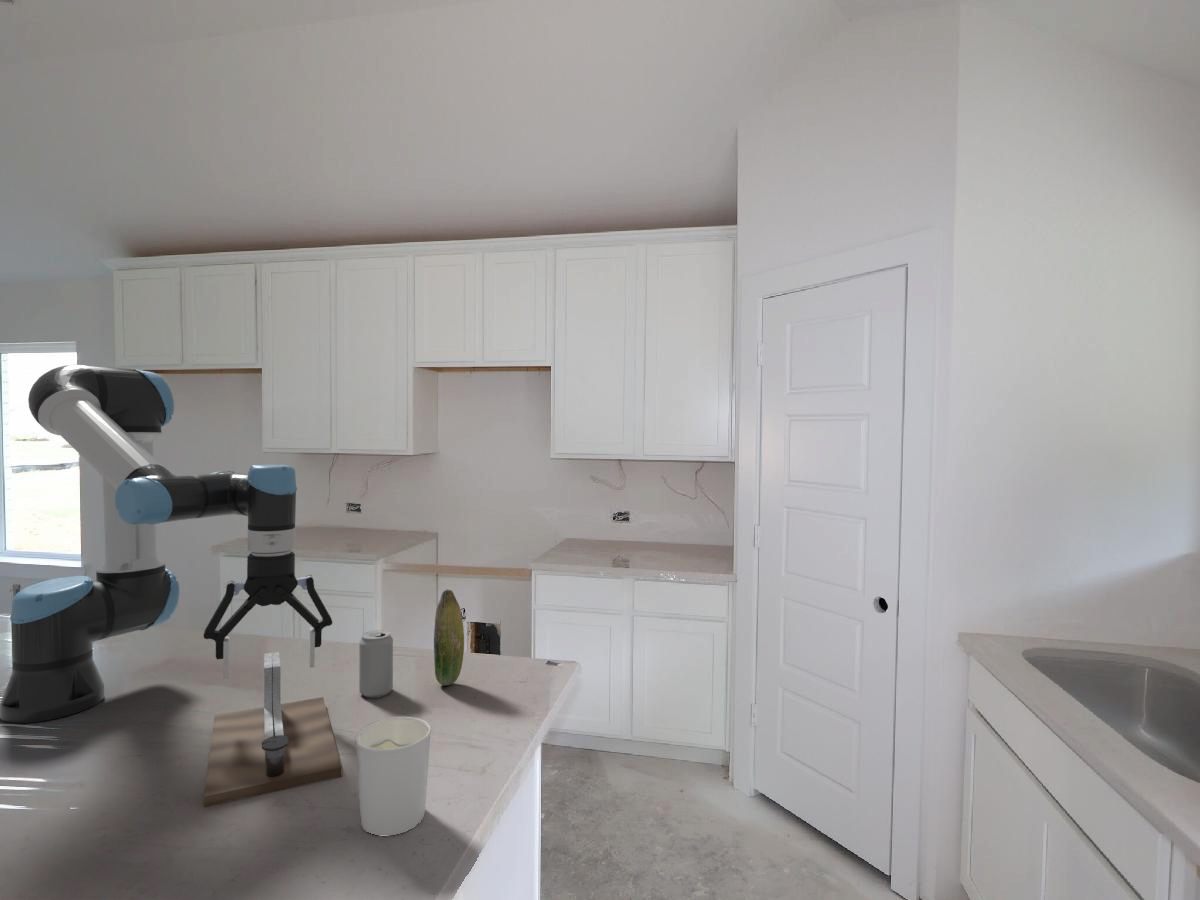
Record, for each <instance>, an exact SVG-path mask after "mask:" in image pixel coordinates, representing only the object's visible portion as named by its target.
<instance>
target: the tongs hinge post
mask: <svg viewBox="0 0 1200 900" xmlns="http://www.w3.org/2000/svg"><path fill="white" fill-rule="evenodd" d="M288 743H289V738H288V737H287V736H284V735H277V736H272V737H269V738H267V739H265V740H263V741H262V749H263V750H266V776H267V777H277V776H280V775H282V774H283V773H284V747H285V746H287V745H288Z"/></svg>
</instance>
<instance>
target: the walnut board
mask: <svg viewBox="0 0 1200 900" xmlns="http://www.w3.org/2000/svg"><path fill="white" fill-rule="evenodd" d="M280 706H281V715H282V724H283V732H284V736H287V737H288V738H289V743H288V745H287V746H285V762H284V773H283V774H282V775H280V776H277V777H267V776H266V766H265V750H263V749H262V741H263V740H265V734H264V706H261V707H256V708H248V709H243V710H237V711H231V712H226V713H220V714H214V716H213V724H212V731H211V739H210V747H209V753H208V760H207V761H208V762H207V763H208V764H207V770H206V772H207V773H206V777H205V779H206V780H205V786H204V787H205V788H204V792H203V793H204V794H203V807H204V808H207V807H211V806H215V805H219V804H220V805H221V804H225V803H229V802H233V801H238V800H242V799H243V800H244V799H248V798H252V797H257V796H261V795H265V794H268V793H269V794H270V793H273V792H279V791H282V790H287V789H292V788H296V787H302V786H305V784H306V785H309V784H315V783H319V782H323V781H328V780H332V779H337V778H341V777H342V763H341V759H340V757H339V755H340V754H339V753H338V749H337V746H336V745H337V744H336V741H335V738H334V733H333V729H332V726H331V722H330V719H329V713H328V711H327V707H326V703H325V699H324V696H321V697H315V698H310V699H304V700H298V701H292V702H291V701H290V702H286V703H280ZM273 736H274V734H273Z"/></svg>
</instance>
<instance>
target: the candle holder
mask: <svg viewBox="0 0 1200 900" xmlns="http://www.w3.org/2000/svg"><path fill="white" fill-rule="evenodd" d="M431 733H432V728H431V726H430V723H428V722H427V721H426V720H424V719H421V718H418V717H412V716H394V717H388V718H383V719H379V720H378V719H377V720H376V721H373V722H371V723H368V724H367V725H365V726H363V727H362V728H361V729H359V731H358V732H357V733H356V735H355V745H356V761H357V762H356V763H357V780H358V795H359V796H358V797H359V799H358V800H359V813H360V823H361V827H362V828H363V830H364V832H366V833H367V832H369V833H371V834H370V835H372V834H375V835H395V836H397V835H396V834H399V833H402V832H405V831H407V830H409V829H411V828H413V827H414V826H416V825H417V824H418V823H419V824H421V822H422V821H423V819H424V816H425V811H426V801H427V790H428V789H427V786H428V773H429V772H428V771H429V757H430V756H429V755H430V743H431ZM421 820H422V821H421ZM419 824H418V825H419ZM418 825H417V826H418ZM417 826H416V827H417ZM413 829H414V828H413ZM369 833H368V834H369ZM405 833H406V832H405ZM375 835H374V836H375ZM399 835H400V834H399Z"/></svg>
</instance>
